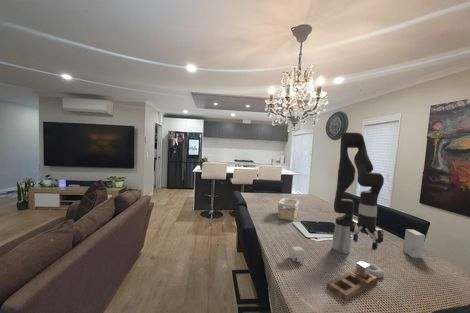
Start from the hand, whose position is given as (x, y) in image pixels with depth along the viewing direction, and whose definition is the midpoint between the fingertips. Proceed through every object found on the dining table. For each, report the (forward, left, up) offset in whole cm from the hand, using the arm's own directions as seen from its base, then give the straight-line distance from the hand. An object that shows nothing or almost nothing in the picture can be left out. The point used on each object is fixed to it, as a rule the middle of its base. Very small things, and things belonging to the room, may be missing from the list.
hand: (364, 245), depth 101 cm
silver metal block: (0, 0, -17) cm, 17 cm away
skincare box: (+1, +57, -18) cm, 60 cm away
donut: (-1, +12, -19) cm, 22 cm away
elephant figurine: (-28, -15, -18) cm, 37 cm away
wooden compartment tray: (0, -8, -18) cm, 20 cm away
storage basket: (-84, +35, -18) cm, 93 cm away
